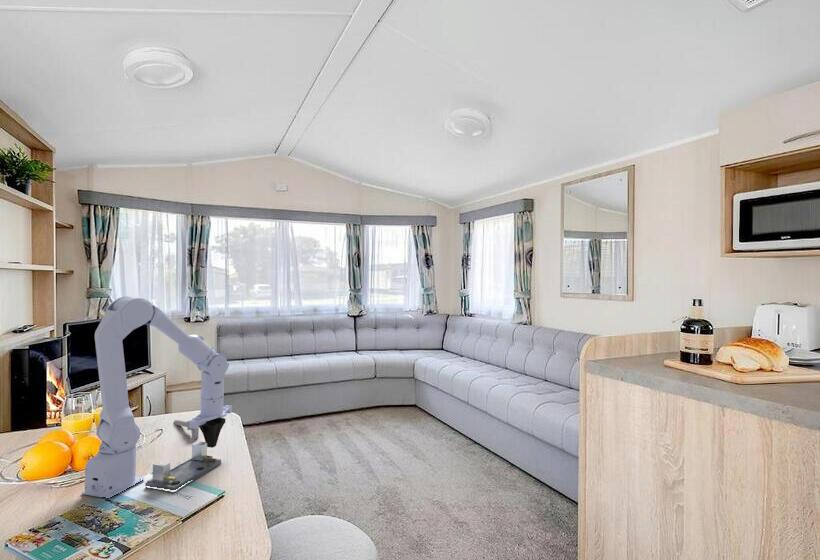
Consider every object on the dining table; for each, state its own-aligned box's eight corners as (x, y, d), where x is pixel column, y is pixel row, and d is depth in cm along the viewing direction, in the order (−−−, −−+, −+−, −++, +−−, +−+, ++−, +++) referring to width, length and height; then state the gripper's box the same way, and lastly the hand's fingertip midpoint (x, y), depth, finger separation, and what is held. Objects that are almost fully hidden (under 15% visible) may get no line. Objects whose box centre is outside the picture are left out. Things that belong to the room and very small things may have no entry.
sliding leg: (209, 461, 112) (209, 446, 112) (191, 459, 113) (191, 444, 113) (214, 458, 114) (214, 443, 114) (197, 456, 115) (197, 441, 115)
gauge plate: (174, 492, 99) (174, 470, 99) (145, 488, 101) (145, 465, 101) (221, 464, 114) (221, 444, 114) (195, 460, 116) (195, 440, 116)
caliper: (198, 439, 131) (199, 419, 131) (194, 440, 131) (195, 419, 131) (176, 422, 146) (177, 404, 146) (173, 423, 145) (173, 404, 145)
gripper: (206, 405, 110) (205, 458, 110) (241, 391, 124) (240, 438, 125) (183, 402, 112) (181, 455, 112) (220, 389, 126) (219, 435, 126)
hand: (211, 446), depth 118 cm, fingers closed
